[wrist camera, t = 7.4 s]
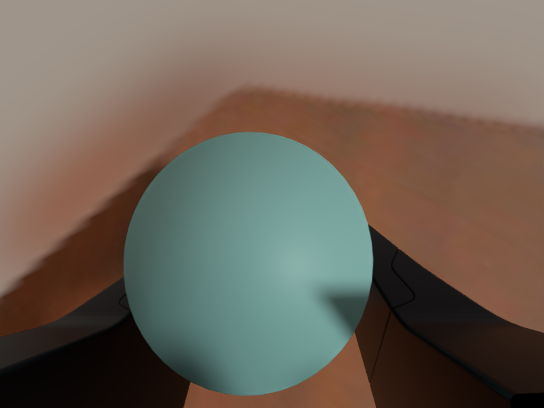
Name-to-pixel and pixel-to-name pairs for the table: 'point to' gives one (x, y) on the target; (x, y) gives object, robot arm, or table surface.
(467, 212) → the table surface
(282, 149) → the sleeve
